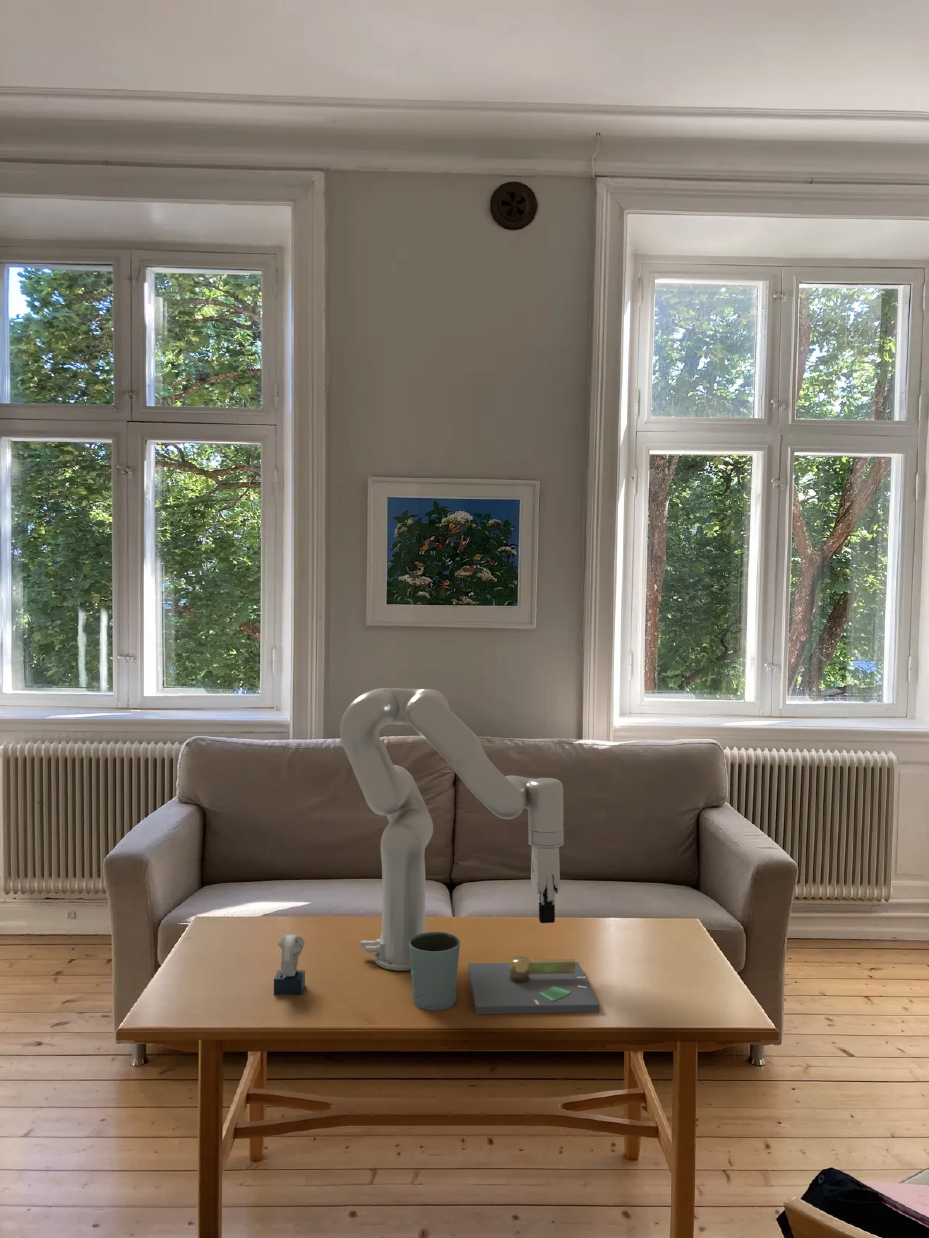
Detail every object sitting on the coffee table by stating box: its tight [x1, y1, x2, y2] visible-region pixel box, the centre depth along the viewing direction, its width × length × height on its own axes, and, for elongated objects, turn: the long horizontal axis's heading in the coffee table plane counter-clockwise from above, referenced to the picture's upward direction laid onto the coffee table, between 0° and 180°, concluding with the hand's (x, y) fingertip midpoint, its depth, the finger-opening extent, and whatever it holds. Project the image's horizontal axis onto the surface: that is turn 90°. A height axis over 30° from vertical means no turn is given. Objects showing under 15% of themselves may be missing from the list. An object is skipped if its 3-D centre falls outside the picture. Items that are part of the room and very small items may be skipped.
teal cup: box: [409, 931, 461, 1011], centre depth 174 cm, size 10×10×12 cm
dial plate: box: [467, 961, 600, 1015], centre depth 180 cm, size 24×20×2 cm
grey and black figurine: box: [273, 933, 306, 996], centre depth 178 cm, size 6×8×11 cm
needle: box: [509, 955, 576, 982], centre depth 182 cm, size 14×4×4 cm, turn 94°
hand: (546, 921), depth 189 cm, fingers closed
